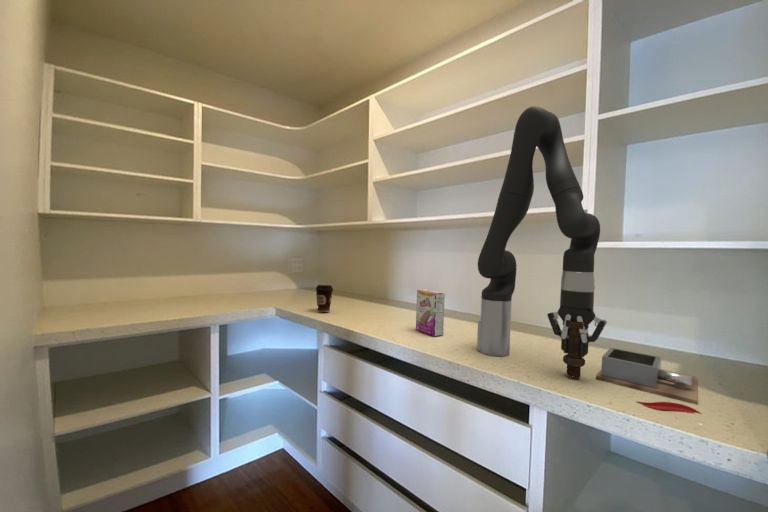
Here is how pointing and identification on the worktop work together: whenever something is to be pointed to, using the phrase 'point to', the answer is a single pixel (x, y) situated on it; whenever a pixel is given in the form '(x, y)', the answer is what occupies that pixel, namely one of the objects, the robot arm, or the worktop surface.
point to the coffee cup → (324, 297)
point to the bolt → (574, 349)
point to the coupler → (640, 369)
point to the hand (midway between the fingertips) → (574, 354)
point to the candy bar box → (430, 312)
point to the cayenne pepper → (669, 407)
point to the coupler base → (660, 388)
